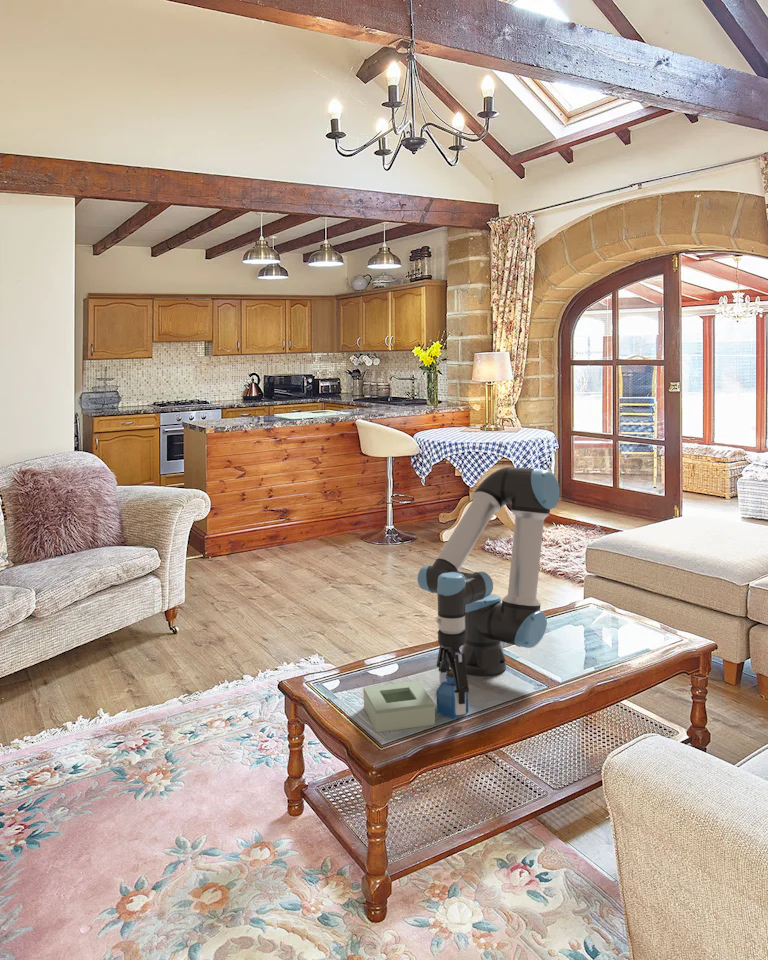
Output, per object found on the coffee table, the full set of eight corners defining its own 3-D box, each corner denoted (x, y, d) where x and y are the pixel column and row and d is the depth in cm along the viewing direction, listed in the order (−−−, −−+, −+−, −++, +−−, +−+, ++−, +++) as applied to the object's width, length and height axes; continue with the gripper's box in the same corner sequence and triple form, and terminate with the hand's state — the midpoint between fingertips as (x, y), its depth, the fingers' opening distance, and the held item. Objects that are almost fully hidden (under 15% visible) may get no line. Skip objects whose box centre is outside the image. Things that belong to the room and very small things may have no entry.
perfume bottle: (436, 712, 209) (436, 671, 207) (451, 705, 213) (450, 664, 212) (453, 719, 204) (453, 676, 203) (468, 712, 209) (468, 670, 207)
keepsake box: (418, 700, 217) (417, 680, 216) (435, 724, 201) (434, 703, 201) (363, 707, 213) (363, 687, 212) (376, 732, 198) (376, 710, 197)
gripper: (425, 617, 217) (426, 688, 219) (453, 646, 193) (454, 724, 195) (450, 615, 219) (450, 685, 221) (481, 643, 195) (481, 721, 197)
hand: (452, 704), depth 208 cm, fingers open, 13 cm apart
